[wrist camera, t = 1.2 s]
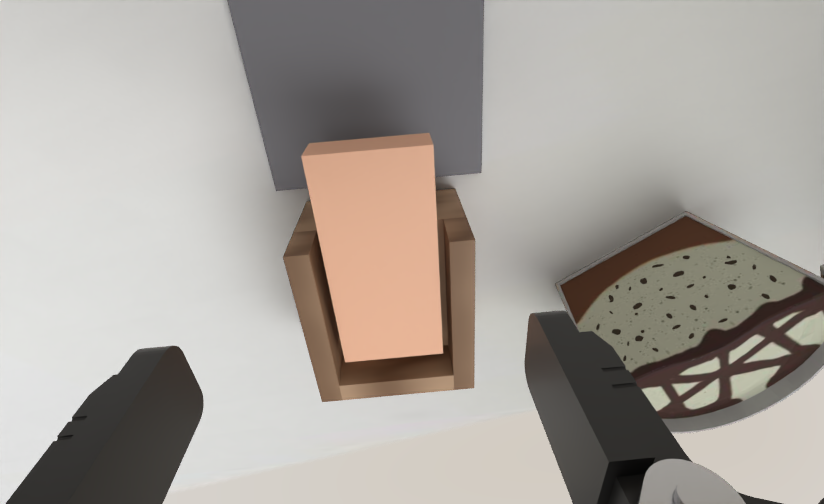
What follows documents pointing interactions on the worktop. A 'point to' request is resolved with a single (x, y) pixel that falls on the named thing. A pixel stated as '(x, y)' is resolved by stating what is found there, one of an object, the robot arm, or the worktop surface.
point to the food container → (703, 321)
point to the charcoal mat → (363, 76)
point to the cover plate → (379, 242)
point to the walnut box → (389, 373)
